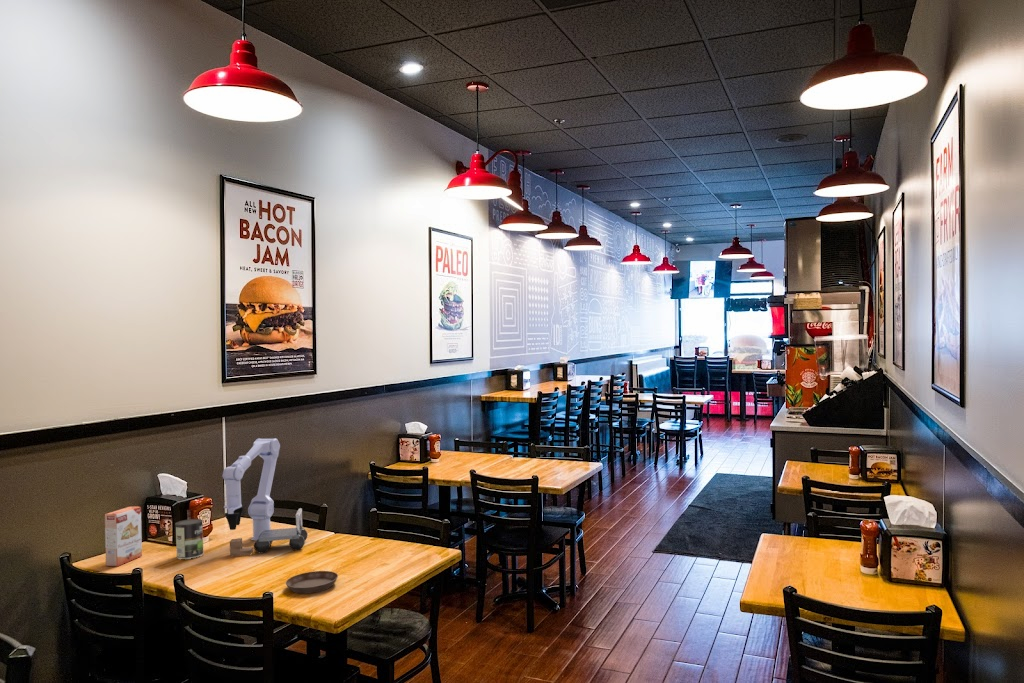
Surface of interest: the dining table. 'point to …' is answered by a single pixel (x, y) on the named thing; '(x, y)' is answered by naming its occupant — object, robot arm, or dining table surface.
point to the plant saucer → (312, 581)
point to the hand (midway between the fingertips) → (234, 527)
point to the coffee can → (189, 538)
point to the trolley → (283, 536)
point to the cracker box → (123, 536)
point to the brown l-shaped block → (239, 548)
